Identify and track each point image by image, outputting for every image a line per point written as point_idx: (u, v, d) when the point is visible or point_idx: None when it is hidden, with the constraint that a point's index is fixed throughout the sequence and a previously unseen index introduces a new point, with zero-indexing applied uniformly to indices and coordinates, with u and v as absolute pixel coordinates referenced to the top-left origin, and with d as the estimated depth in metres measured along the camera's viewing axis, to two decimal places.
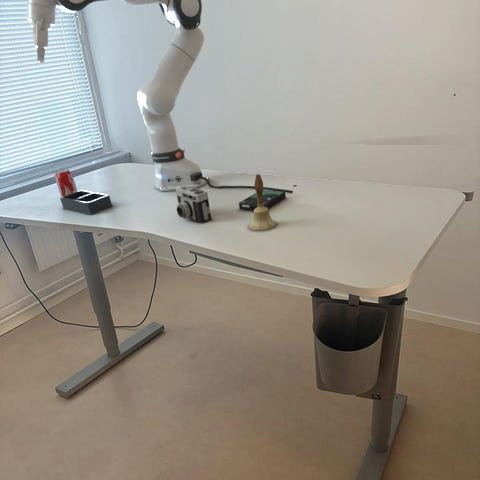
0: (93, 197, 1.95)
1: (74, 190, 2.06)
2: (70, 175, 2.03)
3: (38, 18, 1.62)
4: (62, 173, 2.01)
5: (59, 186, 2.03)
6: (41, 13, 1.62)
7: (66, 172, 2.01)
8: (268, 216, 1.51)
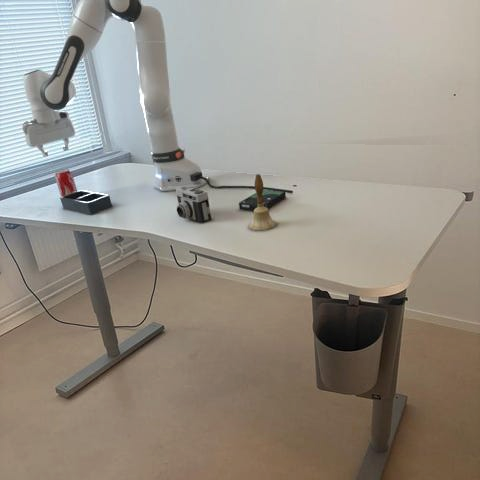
0: (93, 197, 1.95)
1: (74, 190, 2.06)
2: (70, 175, 2.03)
3: None
4: (62, 173, 2.01)
5: (59, 186, 2.03)
6: (34, 117, 1.89)
7: (66, 172, 2.01)
8: (268, 216, 1.51)
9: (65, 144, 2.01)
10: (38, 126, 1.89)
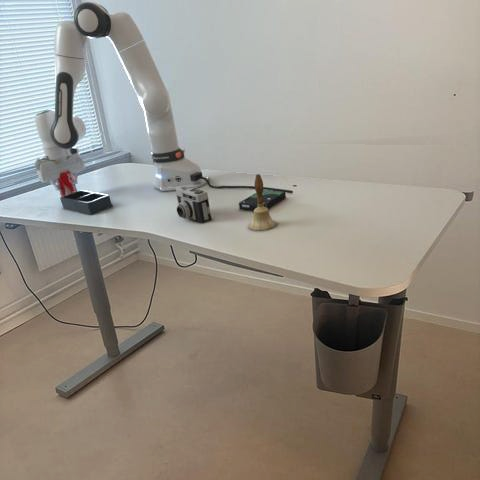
0: (93, 197, 1.95)
1: (74, 190, 2.06)
2: (70, 175, 2.03)
3: None
4: (62, 173, 2.01)
5: None
6: (46, 154, 1.96)
7: (66, 172, 2.01)
8: (268, 216, 1.51)
9: (74, 178, 2.08)
10: (50, 163, 1.96)
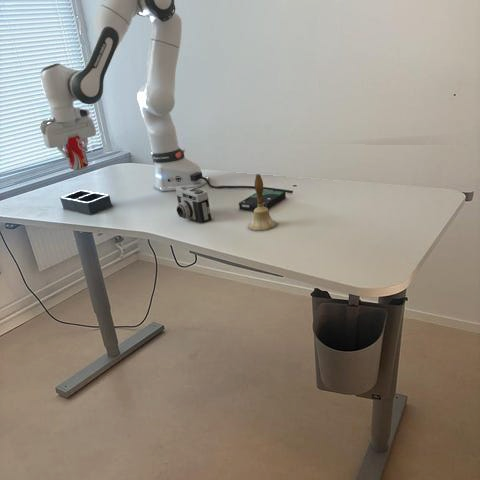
0: (93, 197, 1.95)
1: (84, 158, 1.83)
2: (79, 141, 1.80)
3: None
4: (71, 138, 1.78)
5: None
6: (53, 115, 1.73)
7: (75, 137, 1.79)
8: (268, 216, 1.51)
9: (84, 145, 1.85)
10: (57, 125, 1.74)
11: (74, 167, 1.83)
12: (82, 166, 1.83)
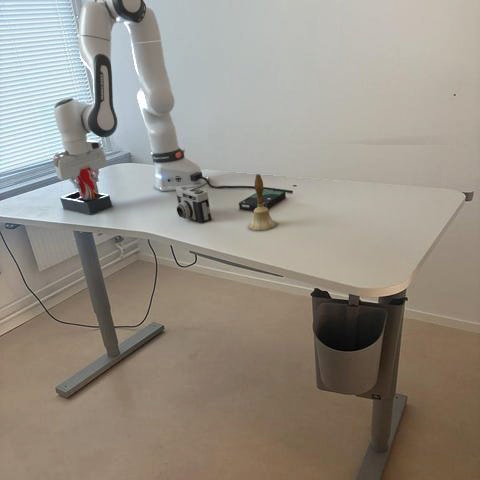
0: None
1: (95, 189, 1.86)
2: (91, 172, 1.84)
3: None
4: (82, 170, 1.81)
5: None
6: (65, 148, 1.77)
7: (87, 169, 1.82)
8: (268, 216, 1.51)
9: (95, 175, 1.89)
10: (69, 158, 1.77)
11: (85, 197, 1.86)
12: (93, 196, 1.87)
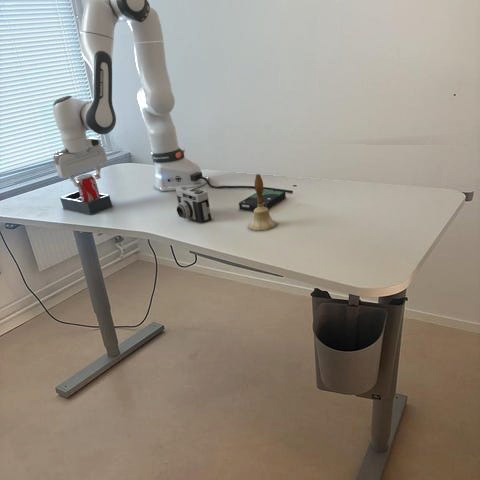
0: None
1: (97, 197, 1.88)
2: (93, 181, 1.85)
3: None
4: (85, 179, 1.83)
5: (81, 193, 1.86)
6: (65, 146, 1.77)
7: (89, 178, 1.84)
8: (268, 216, 1.51)
9: (97, 172, 1.89)
10: (69, 156, 1.77)
11: None
12: None
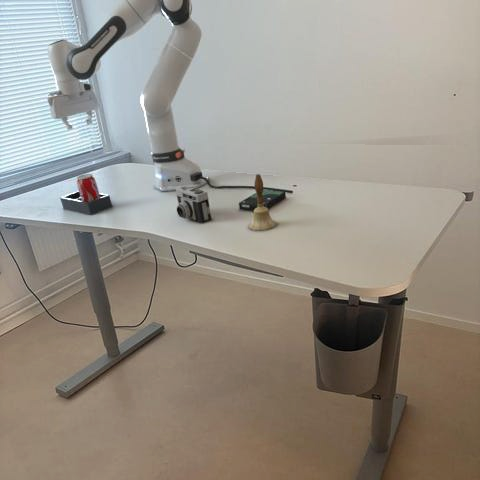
0: None
1: (97, 197, 1.88)
2: (93, 181, 1.85)
3: None
4: (85, 179, 1.83)
5: (81, 193, 1.86)
6: (59, 88, 1.86)
7: (89, 178, 1.84)
8: (268, 216, 1.51)
9: (89, 117, 1.98)
10: (63, 98, 1.86)
11: None
12: None
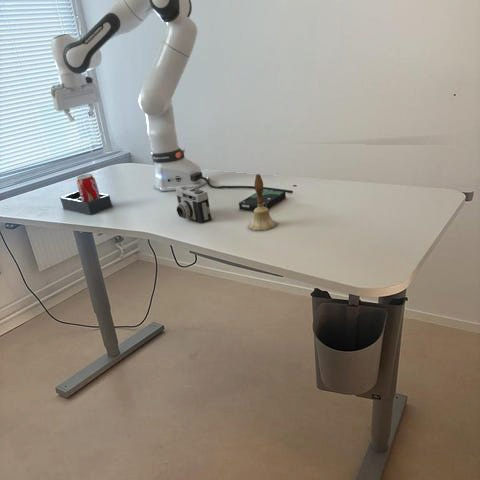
0: None
1: (97, 197, 1.88)
2: (93, 181, 1.85)
3: None
4: (85, 179, 1.83)
5: (81, 193, 1.86)
6: (61, 81, 1.94)
7: (89, 178, 1.84)
8: (268, 216, 1.51)
9: (90, 109, 2.06)
10: (65, 90, 1.94)
11: None
12: None
